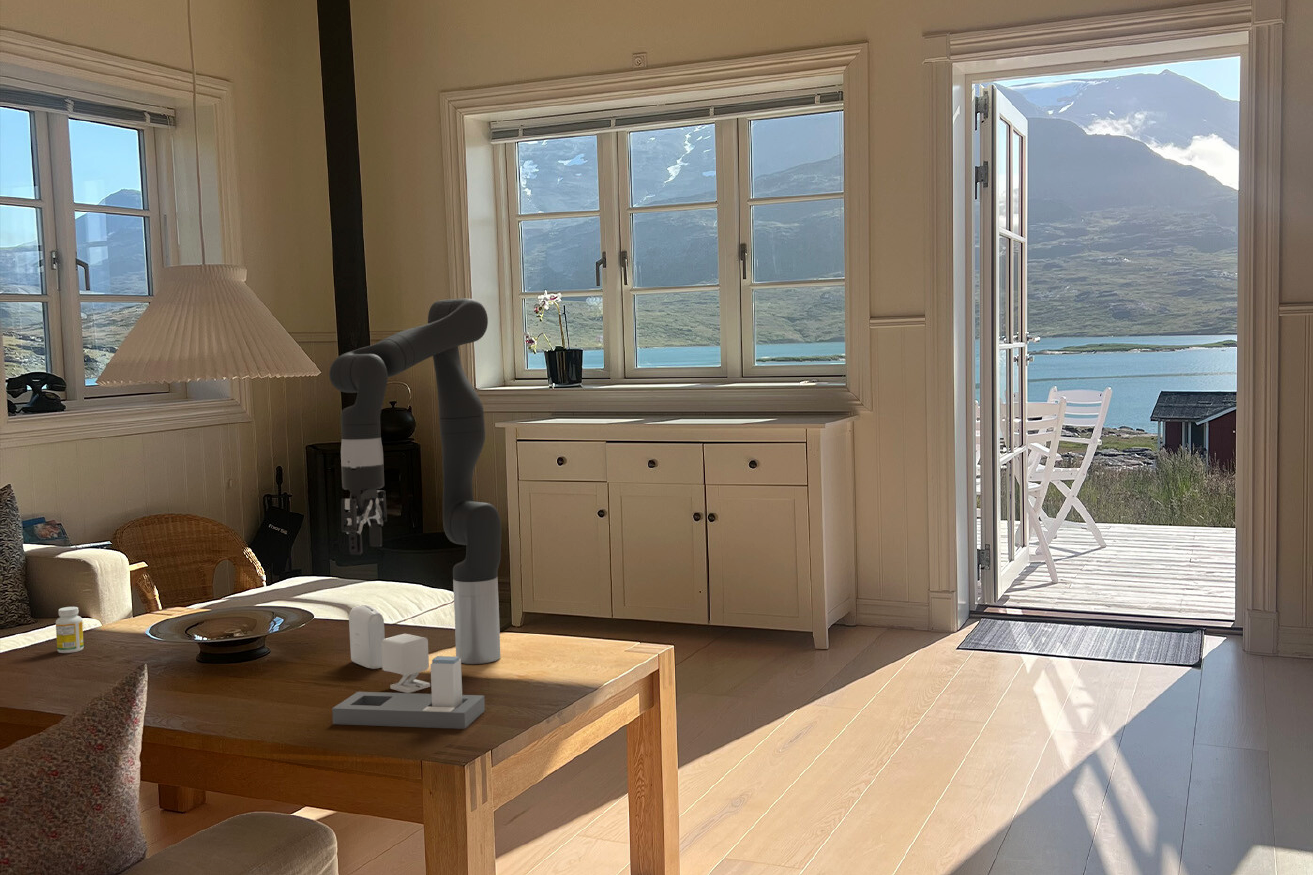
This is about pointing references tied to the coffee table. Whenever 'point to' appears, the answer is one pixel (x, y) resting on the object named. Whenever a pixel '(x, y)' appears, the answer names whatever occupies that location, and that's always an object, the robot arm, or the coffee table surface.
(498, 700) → the coffee table surface
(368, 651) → the photo printer
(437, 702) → the plug
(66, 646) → the supplement bottle
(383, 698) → the socket panel
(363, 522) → the robot arm
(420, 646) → the white cube on bracket
